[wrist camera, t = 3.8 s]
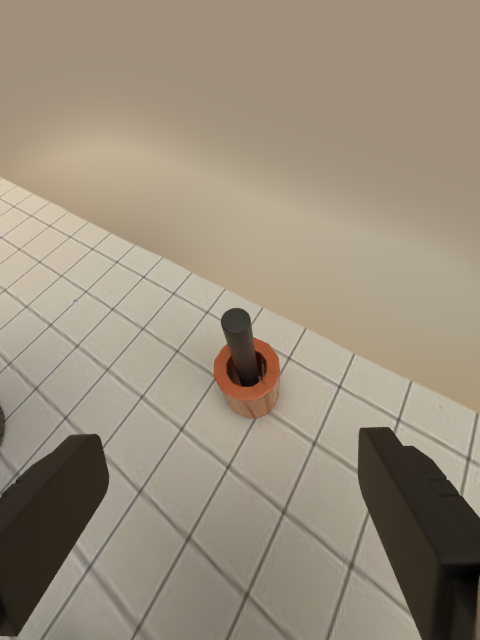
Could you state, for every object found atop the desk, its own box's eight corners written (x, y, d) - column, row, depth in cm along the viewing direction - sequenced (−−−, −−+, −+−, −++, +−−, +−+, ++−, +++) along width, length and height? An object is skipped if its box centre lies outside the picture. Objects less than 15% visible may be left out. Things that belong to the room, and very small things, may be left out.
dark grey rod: (243, 398, 24) (220, 334, 14) (243, 381, 25) (221, 308, 14) (260, 398, 24) (250, 332, 14) (259, 380, 25) (249, 306, 14)
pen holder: (226, 419, 24) (212, 401, 19) (226, 368, 26) (215, 339, 21) (280, 417, 23) (282, 398, 18) (276, 365, 26) (276, 335, 21)
